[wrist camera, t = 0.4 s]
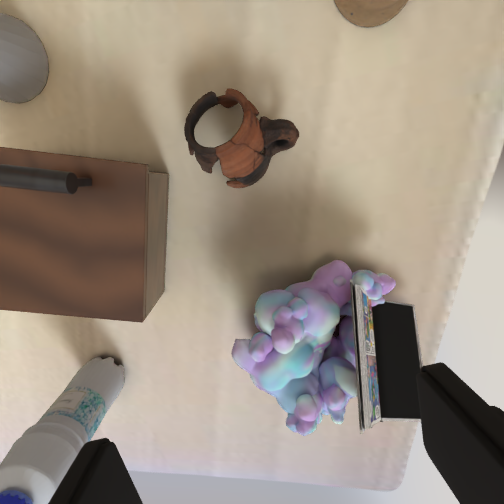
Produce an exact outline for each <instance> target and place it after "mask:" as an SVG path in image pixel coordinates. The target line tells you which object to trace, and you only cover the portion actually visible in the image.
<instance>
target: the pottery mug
mask: <svg viewBox="0 0 504 504" xmlns="http://www.w3.org/2000/svg"><path fill="white" fill-rule="evenodd" d="M238 103H239V104H240V105H241V106H242V109H243V113H244V115H243V121H242V124H241V126H240V128H239V130H238V132H237V133H236V134H235V136H234V137H233V138H232V139H231V140H230V141H228V142H226V143H225V144H223V145H220V146H217V147H215V148H208V147H203V146H201V145H199V144H198V143H197V142H196V140H195V137H194V129H195V126H196V124H197V122H198V121H199V119H200V117H201V116H202V115H203V114H204V113H205V112H206V111H207V110H208V109H210V108H212V107H214V106H216V105H218V104H221V105H222V106H224V107H226V108H230V107H233V106H234V105H236V104H238ZM258 114H259V112H258V110H257V109H256V108H255V106H254V105H253V104H252V103H251V102H250V101H248V100H247V98H246V97H245V96H244V95H243V94H242V93H241V92H239V91H237V90H234V89H227V90H226V95H222V96H219V97H216V94H215V93H214V92H212V91H211V92H208V93H207V94H205V95H204V96H202V97H201V98H200V99H199V100H198V101H197V102H196V103H195V104H194V105H193V107H192V108H191V110H190V113H189V114H188V116H187V118H186V123H185V127H184V131H185V137H186V140H187V142H188V147H189V151H190V155H193V154H194V151H195V157H196V159H197V161H198V163H199V164H200V165H201V168H202V170H204V171H206V172H207V173H212V168H211V167H213V165H214V163H215V162H216V161H217V160H218V159H219V160H220V165H221V169H222V173H223V175H225V176H226V177H228V178H233V177H235V179H236V180H237V181H227V185H228V186H231V187H234V188H243V187H247V186H250V185H252V184H254V183H256V182H257V181H258V180H259V179H260V178H262V176H263V175H264V174H265V172H266V170H267V168H268V166H269V163H270V159H271V157H272V156H273V155H275V154H276V153H278V152H280V151H284V150H287V149H290V148H292V147H293V146H294V145H295V143H296V141H297V139H298V137H299V131H298V129H297V128H296V127H295V125H294V124H293V123H292V122H291V121H289V120H284V119H277V120H270V119H268V118H267V117H264V116H263V117H261V118H260V120H259V121H258V119H257V118H256V116H257V115H258ZM263 148H264V154H261V153H260V151H262V150H263Z"/></svg>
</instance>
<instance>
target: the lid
mask: <svg viewBox="0 0 504 504" xmlns="http://www.w3.org/2000/svg"><path fill="white" fill-rule="evenodd" d="M148 167H149V166H148V164H139V163H131V162H122V161H114V160H106V159H97V158H89V157H80V156H72V155H64V154H55V153H47V152H39V151H30V150H22V149H13V148H5V147H0V310H10V311H21V312H32V313H43V314H54V315H66V316H77V317H88V318H99V319H110V320H121V321H132V322H143V321H144V320H145V299H146V255H147V211H148Z"/></svg>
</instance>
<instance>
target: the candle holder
mask: <svg viewBox="0 0 504 504" xmlns="http://www.w3.org/2000/svg"><path fill="white" fill-rule="evenodd" d="M407 1H408V0H335V3H336V5H337V7H338V9H339V11H340V12H341V13H342V15H343V16H344V17H345V18H346V19H348V20H349V21H350V22H352V23H354V24H356V25H359V26H364V27H374V26H378V25H381V24H383V23H386V22H387V21H389V20H390V19H392V18H393V17H394V16H395V15H397V14H398V13H399V11H400V10H401V9H402V8H403V7H404V6H405V4H406V3H407Z"/></svg>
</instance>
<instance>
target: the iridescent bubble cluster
mask: <svg viewBox="0 0 504 504" xmlns="http://www.w3.org/2000/svg"><path fill="white" fill-rule="evenodd" d="M395 285H396V281H395V280H394V279H393V278H391V277H390V276H389V275H387V274H385V273H379V274H375V273H373V272H372V271H370V270H357V271H356V272H354V273H352V271H351V270H350V268H349V267H348V265H347V264H346V263H345V262H343V261H341V260H334V261H332V262H331V263H329V264H326V265H323V266H321V267H320V268H318V269H317V270H316V271H315V272H314V273H313V275H312V278H311V279H310V280H309V281H306V282H299V283H295V284H291V285H290V286H288V287H287V288H286V289H285V290H281V289H277V290H271V291H267V292H265V293H262V294H261V295H260V297H259V298H258V300H257V302H256V305H255V311H256V312H255V313H254V318H255V325H256V327H257V328H258V329H259V330H260V331H261V332H258V333H256V334H254V335H253V337H252V338H251V340H250V339H236V340H235V343H234V346H233V349H232V357H233V360H234V361H235V363H236V364H237V365H239V366H240V367H241V368H242V369H244V370H246V371H247V372H248V373H249V374H250V378H251V380H252V381H253V383H254V384H255V385H256V387H258V388H259V389H261V390H263V391H265V392H267V393H268V394H270V395H272V396H275V397H276V399H277V402H278V404H279V405H280V406H281V407H282V408H283V409H284V410H285V411H286V412H287V413H288V417H287V420H286V426H287V427H288V428H289V429H290V430H292V431H293V432H298V433H299V434H301V435H303V436H306V435H308V434H310V433H312V432H313V431H315V430H316V428H317V424H319V423H320V422H321V420H322V413H323V414H325V415H329V414H331V418H332V421H333V422H335V423H337V424H341V423H342V422H343V420H344V418H343V415H344V413H345V407H346V404H347V403H348V401H349V399H350V398H353V397H357V396H358V409H359V424H360V434H363V432H364V431H365V429H368V428H372V426H373V425H374V424H376V423H378V422H379V421H380V422H383V421H409V422H421V416H420V407H419V399H418V390H417V382H416V374H417V373H420V369H421V367H423V361H422V354H421V347H420V341H419V334H418V327H417V320H416V314H415V307H414V305H412V304H405V303H397V302H390V301H385V300H384V297H383V296H382V295H385V294H388V293H389V292H390V291H391V290H392V289H393V288H394V287H395ZM340 315H348V316H346V317H345V318H344V319H342V321H341V323H340V326H339V336H337V337H334V336H332V335H333V333H334V331H335V329H336V325H337V324H338V323H339V320H340Z"/></svg>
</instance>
